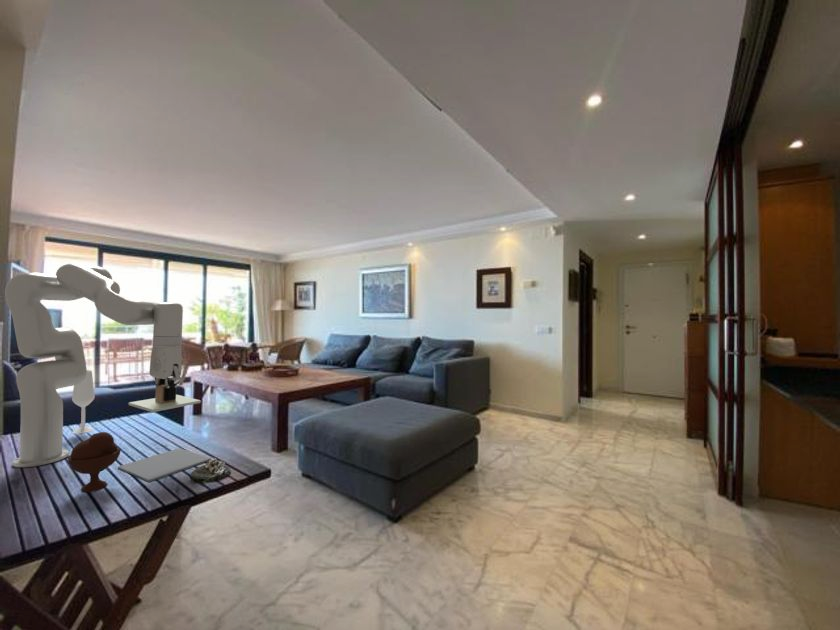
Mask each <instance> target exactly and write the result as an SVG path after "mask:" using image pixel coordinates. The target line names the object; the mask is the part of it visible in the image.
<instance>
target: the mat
mask: <svg viewBox="0 0 840 630" xmlns="http://www.w3.org/2000/svg"><path fill="white" fill-rule="evenodd" d="M210 460H211V461H212V458H211V457H208V456H206V455H201V454H199V453H197V452H193V451H190V450H186V449H184V448H182V447H181V448H180V447H179V448H176V449H172V450H169V451H165V452H162V453H159V454H155V455H152V456H149V457H148V456H147V457H146V458H143V459H142V458H141V459H139V460H134V461H132V462H129V463H125V464H122V465H119V466H117V469H119V470H121V471H123V472H126V473H127V474H130V475H132V476H134V477H137V478H139V479H141V480H144V481H146V482H149V483H150V482H153V481H155V480H159V479H161V478H164V477H167V476H170V475H173V474H175V473H178V472H182V471H185V470H186V469H190V468H193V467H195V466H199V465H201V464H205V463H206V462H207V463H208V462H209V461H210Z"/></svg>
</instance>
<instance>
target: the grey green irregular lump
mask: <svg viewBox="0 0 840 630" xmlns="http://www.w3.org/2000/svg"><path fill="white" fill-rule="evenodd" d="M225 464H226V463H225V462H224V461H223V460H217V458H216V457H215V458H214V459H211V460H210V461H207V463H204V464H203V465H200V466H198V467H196V468H195V469H194V470H192V472H191V473H190V474H189V479H190V480H191V482H193V483H194V484H195V483H197V484H206V483H214V482H218V481H222V480H223V479H227V478H228V477H230V476H231V474H232V472H231V469H230V467H229V466H228V465H225Z"/></svg>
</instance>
